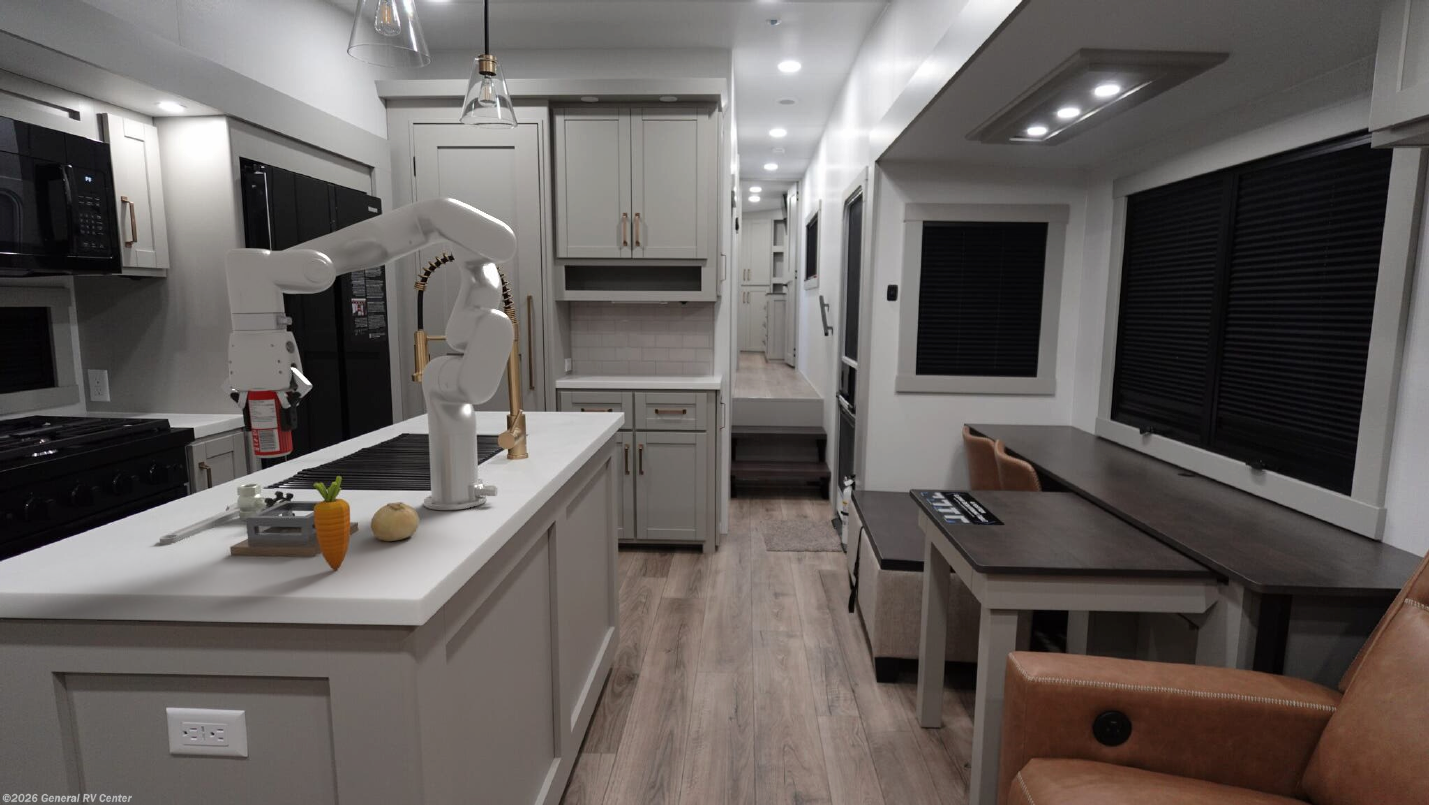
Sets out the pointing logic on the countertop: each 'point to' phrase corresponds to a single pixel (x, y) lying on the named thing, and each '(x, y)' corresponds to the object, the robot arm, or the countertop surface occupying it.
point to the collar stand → (282, 532)
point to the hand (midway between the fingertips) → (271, 429)
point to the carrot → (332, 524)
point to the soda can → (267, 425)
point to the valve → (256, 500)
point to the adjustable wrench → (201, 525)
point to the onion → (394, 522)
